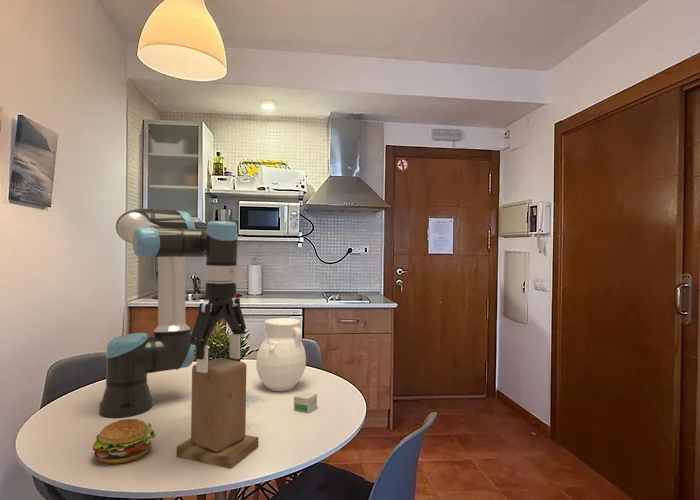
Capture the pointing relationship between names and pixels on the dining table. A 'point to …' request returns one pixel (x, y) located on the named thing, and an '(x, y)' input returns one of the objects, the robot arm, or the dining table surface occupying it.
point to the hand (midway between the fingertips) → (219, 364)
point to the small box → (305, 402)
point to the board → (218, 452)
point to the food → (123, 441)
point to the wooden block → (218, 404)
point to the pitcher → (281, 354)
